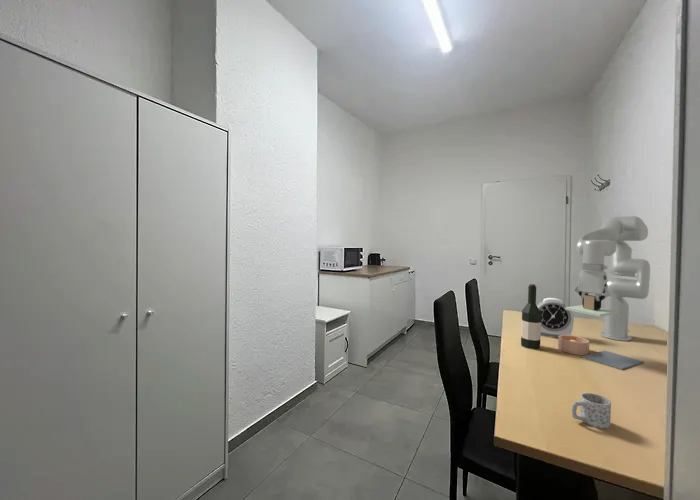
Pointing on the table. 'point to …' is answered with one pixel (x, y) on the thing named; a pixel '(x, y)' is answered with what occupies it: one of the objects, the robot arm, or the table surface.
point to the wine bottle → (531, 321)
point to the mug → (593, 410)
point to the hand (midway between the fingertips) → (591, 307)
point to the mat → (613, 360)
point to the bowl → (573, 345)
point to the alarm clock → (555, 318)
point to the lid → (591, 307)
